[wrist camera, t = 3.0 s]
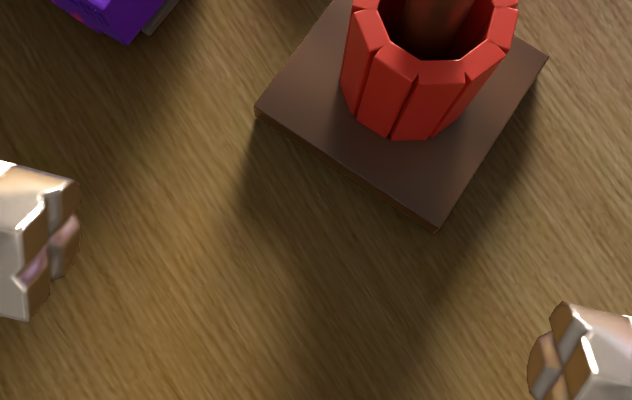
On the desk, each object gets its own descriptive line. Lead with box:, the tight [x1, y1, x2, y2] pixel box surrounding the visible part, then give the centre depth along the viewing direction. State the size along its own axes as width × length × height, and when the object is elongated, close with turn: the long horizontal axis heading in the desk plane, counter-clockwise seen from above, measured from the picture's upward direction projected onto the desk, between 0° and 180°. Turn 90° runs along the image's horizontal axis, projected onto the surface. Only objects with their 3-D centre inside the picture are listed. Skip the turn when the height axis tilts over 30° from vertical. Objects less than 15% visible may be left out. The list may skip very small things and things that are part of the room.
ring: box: [339, 0, 519, 141], centre depth 27 cm, size 6×7×7 cm
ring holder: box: [254, 0, 549, 233], centre depth 24 cm, size 11×11×15 cm
